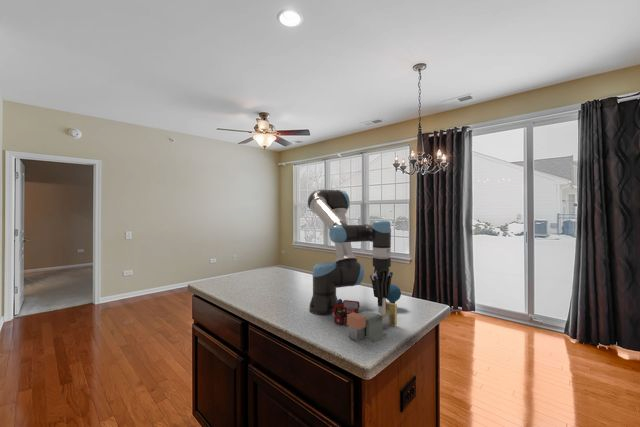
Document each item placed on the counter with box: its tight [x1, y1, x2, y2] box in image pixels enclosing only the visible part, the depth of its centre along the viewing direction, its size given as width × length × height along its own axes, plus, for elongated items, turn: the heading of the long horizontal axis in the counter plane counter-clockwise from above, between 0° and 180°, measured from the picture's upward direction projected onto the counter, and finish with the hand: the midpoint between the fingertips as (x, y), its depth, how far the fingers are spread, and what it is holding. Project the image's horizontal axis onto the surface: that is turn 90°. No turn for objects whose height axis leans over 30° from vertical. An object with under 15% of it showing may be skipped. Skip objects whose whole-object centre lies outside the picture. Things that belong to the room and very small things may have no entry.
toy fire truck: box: [331, 298, 360, 327], centre depth 125 cm, size 7×12×10 cm, turn 65°
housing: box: [359, 310, 388, 342], centre depth 114 cm, size 8×13×7 cm, turn 41°
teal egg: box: [386, 284, 402, 304], centre depth 144 cm, size 8×8×12 cm
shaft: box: [348, 301, 398, 342], centre depth 116 cm, size 24×7×9 cm, turn 131°
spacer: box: [346, 312, 366, 330], centre depth 109 cm, size 4×6×4 cm, turn 41°
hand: (381, 313), depth 120 cm, fingers closed
